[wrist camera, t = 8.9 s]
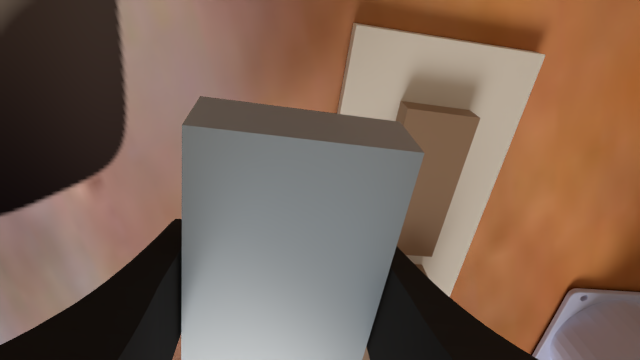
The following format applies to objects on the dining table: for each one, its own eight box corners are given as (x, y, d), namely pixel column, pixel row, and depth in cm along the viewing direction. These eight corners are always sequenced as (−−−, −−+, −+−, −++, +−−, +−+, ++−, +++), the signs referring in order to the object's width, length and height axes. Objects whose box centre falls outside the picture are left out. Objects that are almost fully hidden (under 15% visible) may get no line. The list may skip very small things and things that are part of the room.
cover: (400, 121, 10) (424, 153, 9) (337, 359, 14) (346, 413, 13) (200, 96, 10) (181, 125, 8) (193, 354, 14) (181, 411, 12)
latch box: (535, 51, 19) (597, 71, 15) (409, 381, 30) (427, 439, 26) (353, 22, 18) (372, 36, 14) (289, 378, 29) (290, 439, 25)
